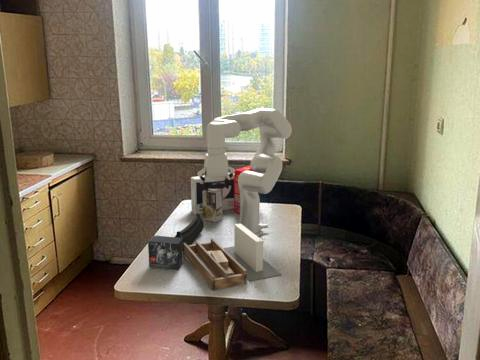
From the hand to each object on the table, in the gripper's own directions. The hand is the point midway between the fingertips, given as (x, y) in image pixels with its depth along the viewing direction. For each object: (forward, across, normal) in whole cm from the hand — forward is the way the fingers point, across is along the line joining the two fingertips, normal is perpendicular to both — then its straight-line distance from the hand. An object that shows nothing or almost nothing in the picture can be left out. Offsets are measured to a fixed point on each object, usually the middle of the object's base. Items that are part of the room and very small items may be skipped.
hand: (216, 189), depth 209 cm
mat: (+28, -7, +18) cm, 34 cm away
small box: (+29, +26, +8) cm, 39 cm away
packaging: (+29, -22, -54) cm, 65 cm away
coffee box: (+28, -13, -39) cm, 50 cm away
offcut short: (+26, +6, +18) cm, 32 cm away
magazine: (+29, +9, -12) cm, 32 cm away
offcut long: (+29, +6, +18) cm, 34 cm away
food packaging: (+28, -35, -44) cm, 63 cm away
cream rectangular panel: (+28, -7, +18) cm, 34 cm away
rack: (+28, +9, +18) cm, 35 cm away
